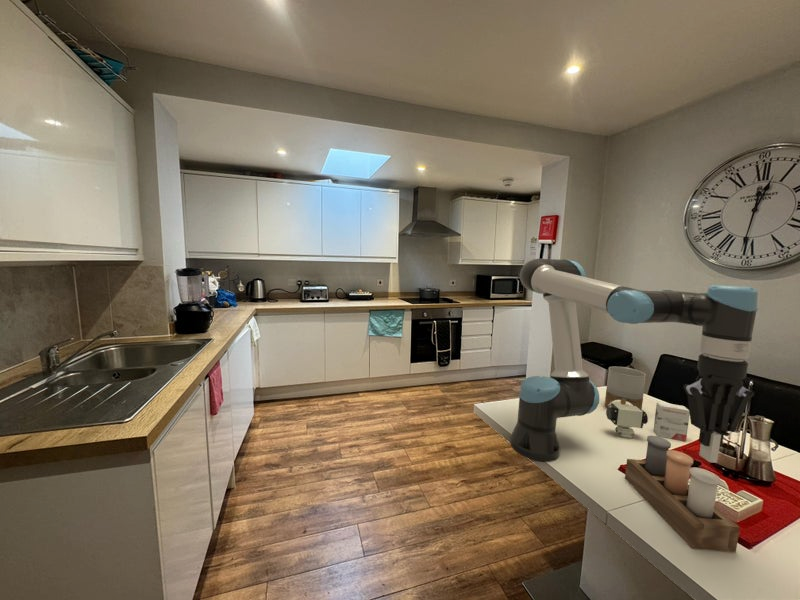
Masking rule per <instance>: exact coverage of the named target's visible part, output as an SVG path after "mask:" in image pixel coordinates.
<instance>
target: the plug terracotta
mask: <svg viewBox="0 0 800 600" xmlns="http://www.w3.org/2000/svg"><path fill="white" fill-rule="evenodd" d="M666 456H667V457H668V458H667V465H666V472H665V480H664V488H666V489H667V490H668V491H669V492H670V493H671V494H672V495H681V496H687V489H688V485H689V483H690V476H691V475H690V473H689V472H690V468H692V466H693V465H694V458H692V457H691V456H690V455H688V454H686V453H684V452H682V451H678V450H673V449H669V450H668V451H667V453H666Z"/></svg>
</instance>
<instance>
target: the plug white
mask: <svg viewBox="0 0 800 600" xmlns="http://www.w3.org/2000/svg"><path fill="white" fill-rule="evenodd" d="M689 473H690V475H689V476H690V477H689V484H688V485H689V492H688V498H687V505H686V508H687V509H688V510H690V511H691V512H692V513H693V514H694V515H695V516H696V517H698V518H709V519H712V518H713V511H714V506H715V504H716V497H717V491H718V486H719V485H720V484H721V478H720V477H719V476H718V475H717V474H716V473H713V472H711V471H709V470H707V469H704V468H700V467H695V466H694V467H692V466H691V468H690V472H689Z"/></svg>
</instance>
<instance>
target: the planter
mask: <svg viewBox="0 0 800 600" xmlns="http://www.w3.org/2000/svg"><path fill="white" fill-rule="evenodd" d="M646 377H647V374H646V373H645V372H643V371H641V370H638V369H635V368H631V367H625V366H609V367H608V373H607V381H606V391H605V397H604V399H605V400H604V408H606V409H607V408H608V407H609V406H610V405H611V403H612V402H614V401H620V402H619V404H622V405H624V404H627V403H630V404H631V406H638V407H639V408H640V409H642V410H643V402H644V392H645V386H646V385H645V384H646Z"/></svg>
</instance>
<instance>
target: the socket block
mask: <svg viewBox="0 0 800 600" xmlns="http://www.w3.org/2000/svg"><path fill="white" fill-rule="evenodd" d="M645 461H646V459H633V458H626V463H625V465H626V466H625V472H624V473H625V474H624V479H625V481H627V482H628V484H629V485H631V486H632V488H634V490H635V491H636V492H637V493H638V494H639V495H641V497H642V498H643V499H644V500H645V501H646V502H647V503H648V504H649V505H650V506H651V507H652V509H653V510H655V512H656V513H657V514H659V516H660V517H661V518H662V519H663V520H664V521H665V522H666V523H667V524H668V525H669V526H670V527H671V529H673V530H674V531H675V533H677V535H679V537H680V538H682V540H683V541H684V542H685V543H686V544H687V545H688V546H689V548H691V549H695V550H705V551H715V552H716V551H717V552H725V553H726V552H727V553H736V552H737V547H738V541H739V536H740V535H739V534H740V530H741V526H739V525H738V524H737V523H736V522H735V521H734V520H732V519H731V518H730V517H728V516H727V515H726V514H724V513H723V512H722V511H721V510H720V509H719V508H717V507H716V506H715V505H714V511H713V518H712V519H709V518H698V517H696V516H695V515H694V514H693V513H692V512H691V511H690V510H688V509H687V508H686V505H687V498H688V492H689V485H690V484H688V489H687V496H681V495H672V494H671V493H670V492H669V491H668V490H667V489H666V488H664V480H665V477H660V476H651V475H650V474H649V473H648V472H647V471H646V470H645Z"/></svg>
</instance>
